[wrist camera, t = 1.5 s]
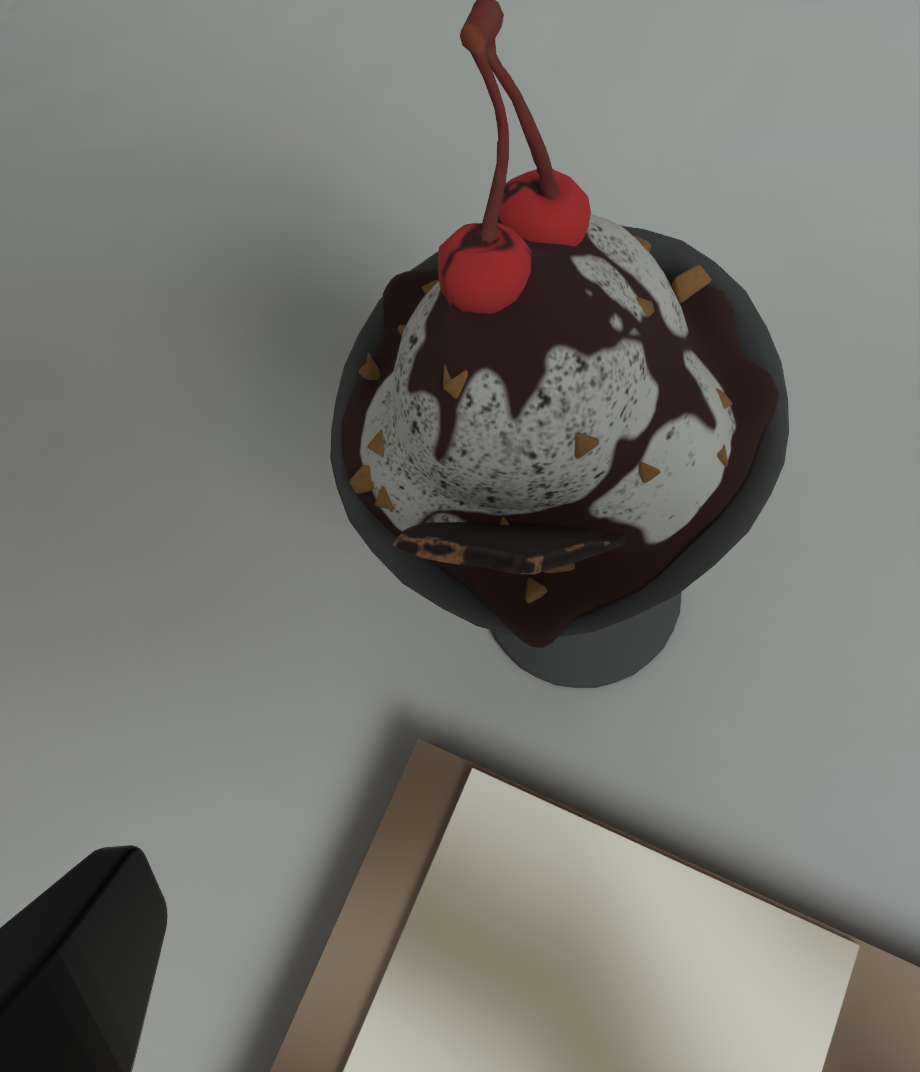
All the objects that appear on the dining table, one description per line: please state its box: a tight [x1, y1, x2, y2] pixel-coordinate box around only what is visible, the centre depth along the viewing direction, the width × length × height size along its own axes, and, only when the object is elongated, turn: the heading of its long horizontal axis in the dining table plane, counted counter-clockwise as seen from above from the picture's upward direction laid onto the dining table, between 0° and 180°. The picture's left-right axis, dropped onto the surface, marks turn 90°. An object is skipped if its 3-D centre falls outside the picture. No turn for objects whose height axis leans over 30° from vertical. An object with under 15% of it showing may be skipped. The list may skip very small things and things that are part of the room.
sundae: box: [331, 0, 789, 688], centre depth 15 cm, size 7×7×15 cm
